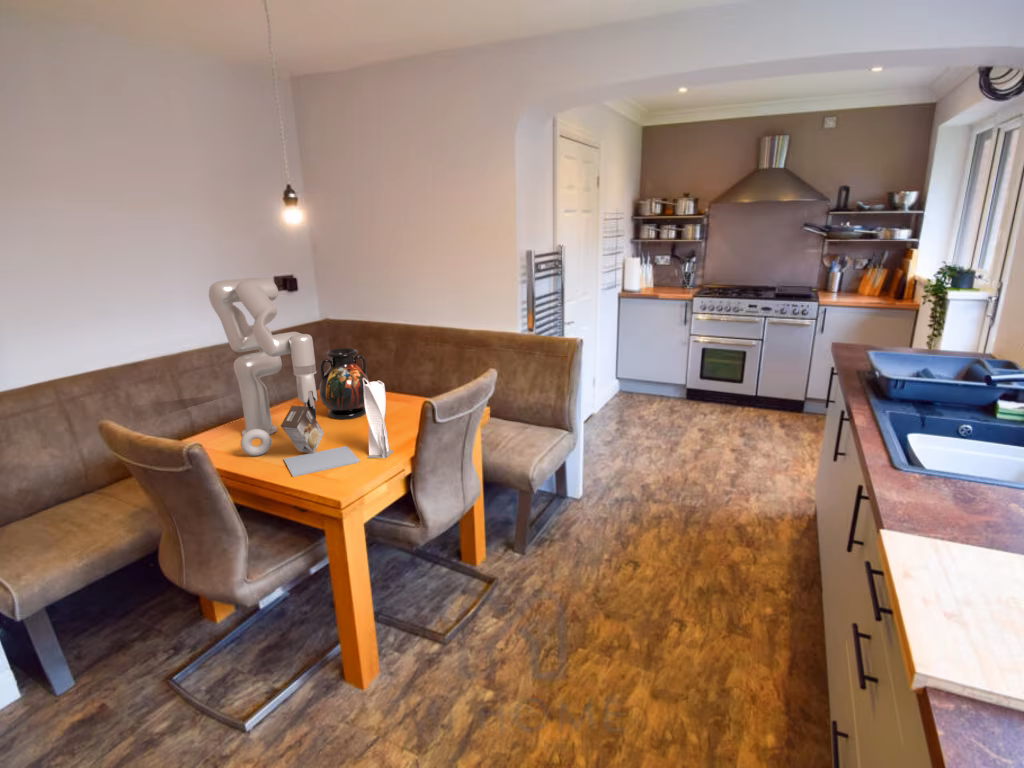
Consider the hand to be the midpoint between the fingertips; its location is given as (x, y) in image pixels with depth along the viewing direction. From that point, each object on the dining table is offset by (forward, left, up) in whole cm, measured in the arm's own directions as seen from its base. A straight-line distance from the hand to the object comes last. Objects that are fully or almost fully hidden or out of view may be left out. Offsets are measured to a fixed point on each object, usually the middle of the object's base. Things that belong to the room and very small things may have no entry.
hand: (311, 419), depth 200 cm
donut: (-5, -18, -12) cm, 23 cm away
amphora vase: (-34, +22, -12) cm, 42 cm away
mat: (+12, 0, -12) cm, 17 cm away
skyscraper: (+17, +19, -12) cm, 28 cm away
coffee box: (0, -1, -9) cm, 9 cm away
